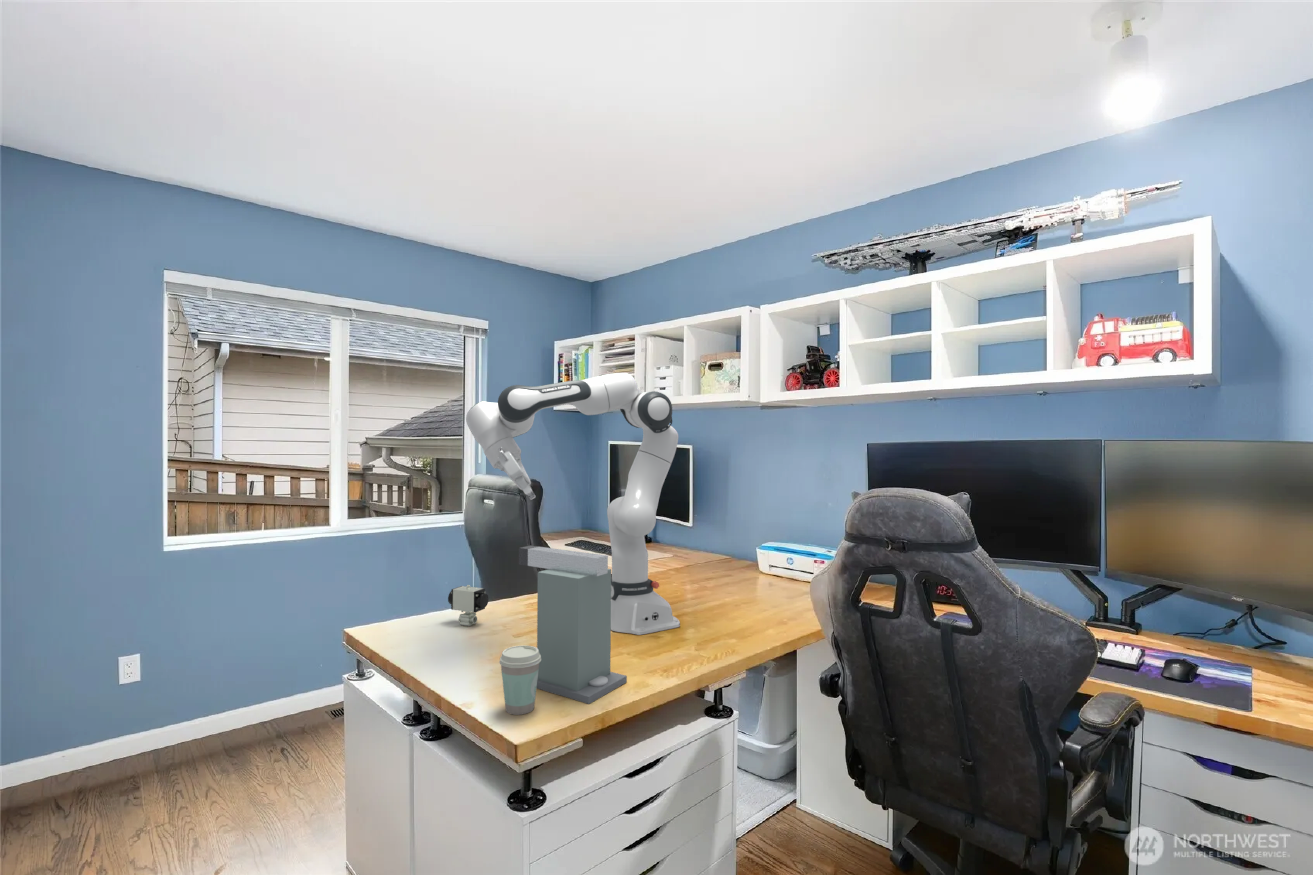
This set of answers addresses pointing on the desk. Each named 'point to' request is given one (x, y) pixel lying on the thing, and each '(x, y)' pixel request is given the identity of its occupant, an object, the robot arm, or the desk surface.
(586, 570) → the lever bar
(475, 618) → the pneumatic valve
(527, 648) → the coffee cup
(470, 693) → the desk surface
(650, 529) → the robot arm
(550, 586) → the press column
